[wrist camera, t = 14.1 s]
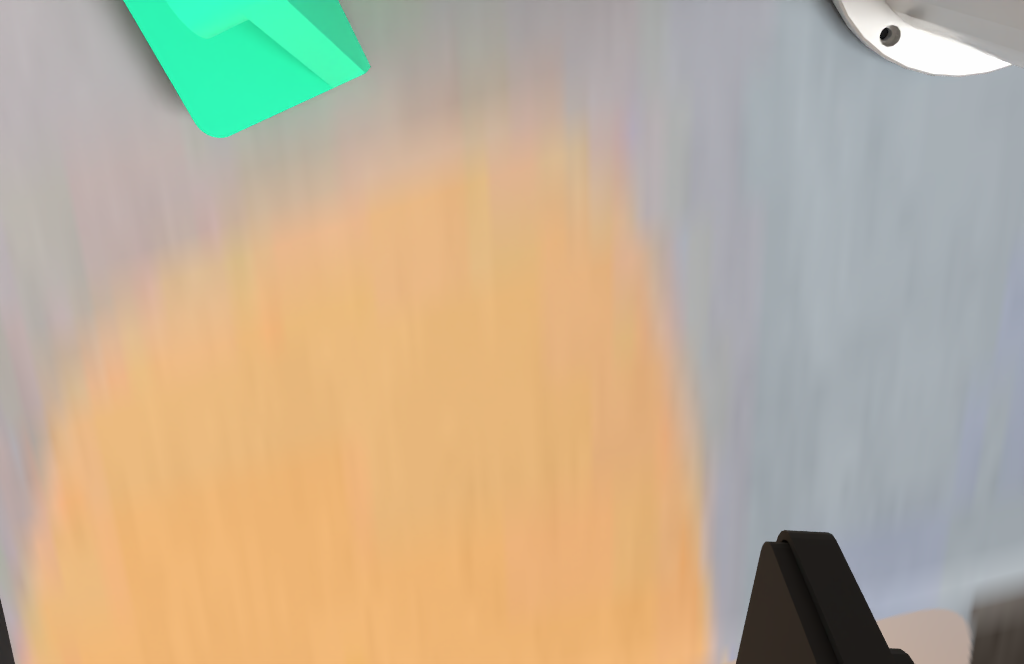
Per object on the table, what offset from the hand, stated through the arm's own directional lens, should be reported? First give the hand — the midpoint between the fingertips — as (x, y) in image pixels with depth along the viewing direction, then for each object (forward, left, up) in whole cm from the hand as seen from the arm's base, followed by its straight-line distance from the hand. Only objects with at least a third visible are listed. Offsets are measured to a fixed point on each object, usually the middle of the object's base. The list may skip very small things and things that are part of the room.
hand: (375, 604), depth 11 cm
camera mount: (+11, -4, -34) cm, 36 cm away
